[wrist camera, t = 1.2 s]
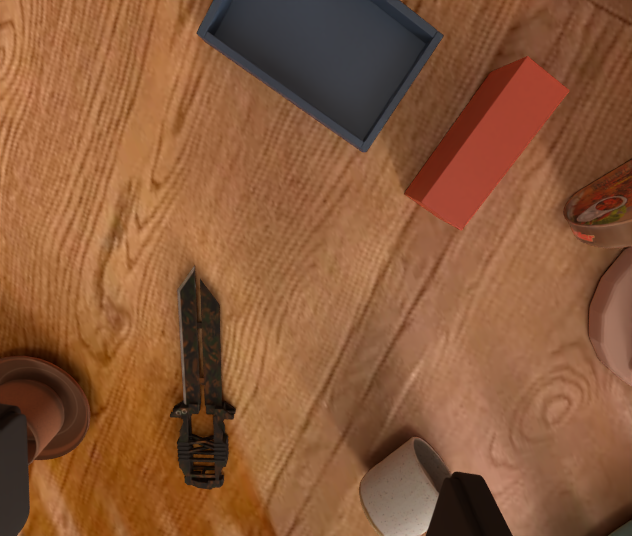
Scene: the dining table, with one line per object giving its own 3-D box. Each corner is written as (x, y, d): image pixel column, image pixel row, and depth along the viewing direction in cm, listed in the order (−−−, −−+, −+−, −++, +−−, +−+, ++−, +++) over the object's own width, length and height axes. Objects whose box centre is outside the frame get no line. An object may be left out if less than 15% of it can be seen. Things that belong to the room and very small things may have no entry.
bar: (403, 193, 36) (420, 202, 30) (490, 71, 33) (527, 55, 27) (438, 218, 37) (461, 231, 31) (526, 100, 34) (570, 90, 28)
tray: (204, 41, 32) (196, 33, 30) (270, -86, 30) (266, -106, 28) (362, 152, 35) (366, 152, 33) (435, 43, 33) (444, 35, 30)
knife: (181, 262, 38) (176, 266, 36) (249, 271, 38) (246, 275, 37) (171, 476, 45) (166, 486, 44) (228, 482, 45) (226, 493, 44)
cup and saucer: (106, 446, 44) (73, 493, 38) (-5, 447, 44) (-54, 493, 38) (88, 347, 40) (49, 381, 34) (-32, 347, 40) (-91, 382, 34)
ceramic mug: (350, 466, 45) (358, 530, 37) (404, 422, 43) (424, 480, 36) (413, 516, 47) (432, 586, 40) (467, 476, 45) (498, 541, 38)
